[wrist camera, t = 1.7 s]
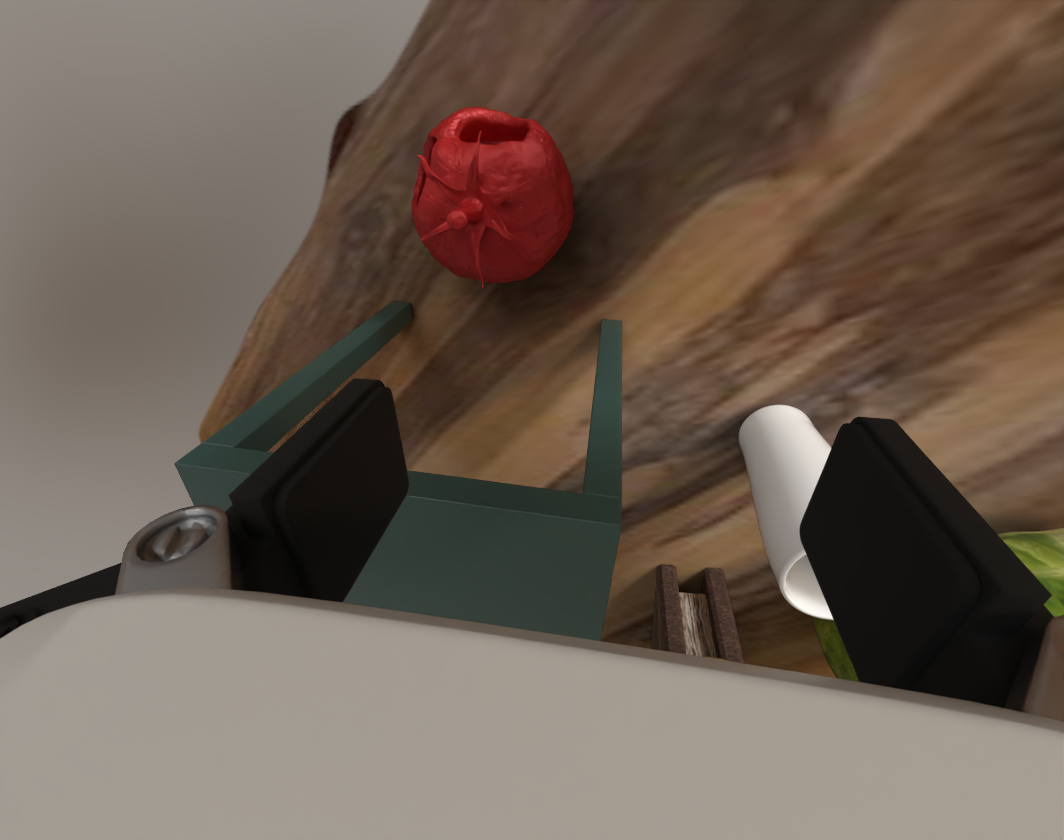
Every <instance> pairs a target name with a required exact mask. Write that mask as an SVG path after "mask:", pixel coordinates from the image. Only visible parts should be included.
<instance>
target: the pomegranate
mask: <svg viewBox="0 0 1064 840" xmlns="http://www.w3.org/2000/svg"><path fill="white" fill-rule="evenodd" d="M417 157H419V158H420V159H421V160H420V164H419V169H418V177H417V180H416V183H415V187H414V197H413V200H412V214H413V221H414V223H415V228H416V230H417V232H418V235H419V236H420V238H421V241H422V242H423V243H424V245H425V247H426V248H428V250H429V251H430V253H431V254H432V256H433V257H434V258H435V259H436V260H437V261H438V262H439V263H441V264H442V265H443V266H445V267H446V268H448V269H449V270H450V271H451V272H452V273H454V274H455V275H457V276H460V277H463V278H469V279H474V280H479V281H481V283H482V288H483V285H484V282H488V283H507V282H512V281H516V280H522V279H526V278H528V277H530V276H532V275H533V274H535V273H537V272H538V271H539V270H540V269H542V268H543V267H544V266H545V265H546V264H547V263H548V262H549V260H550V259H551V258H552V257H553V256H554V255H555V253H556V252H557V251H558V250H559V248H560V247H561V245H562V244H563V242H564V241H565V239H566V238H567V236H568V233H569V231H570V229H571V225H572V221H573V217H574V207H573V188H572V183H571V178H570V175H569V173H568V170H567V166H566V163H565V160H564V158H563V156H562V154H561V152H560V150H559V149H558V148H557V146H556V145H555V142H554V140H553V139H552V137H551V136H550V135H549V134H548V132H547V131H546V130H545V129H544V128H543V127H542V126H541V125H540V124H539V123H538V122H537V121H535V120H532V119H522V118H517V117H511V116H510V115H509V114H507V113H503V112H499V111H493V110H489V109H486V108H481V107H469V108H464V109H461V110H458V111H456V112H455V113H454V114H452V115H451V116H449V117H447V118H446V119H444V120H443V121H442V122H440V124H439V125H438V126H437V127H436V128H434V129H432V131H431V132H430V133H429V134H428V138H427V142H426V143H425V145H424V155H423V156H421V155H417Z"/></svg>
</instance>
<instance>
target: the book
mask: <svg viewBox="0 0 1064 840" xmlns="http://www.w3.org/2000/svg"><path fill="white" fill-rule="evenodd" d="M651 649H655V650H661V651H668V652H674V653H681V654H687V655H693V656H699V657H706V658H712V659H718V660H725V661H731V662H737V663H744V658H743V654H742V650H741V645H740V641H739V637H738V632H737V628H736V624H735V619H734V615H733V611H732V606H731V602H730V598H729V593H728V589H727V585H726V580H725V576H724V572H723V570H722V569H720V568H706V569H704V575H703V581H702V587H701V594H696V593H684V592H679V589H678V581H677V573H676V567H675V566H673V565H662V564H661V565H660V566H658V567H657V579H656V591H655V604H654V616H653V628H652V640H651ZM744 664H745V663H744Z"/></svg>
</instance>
